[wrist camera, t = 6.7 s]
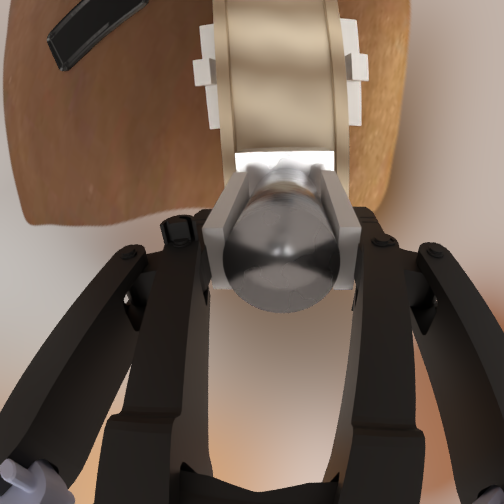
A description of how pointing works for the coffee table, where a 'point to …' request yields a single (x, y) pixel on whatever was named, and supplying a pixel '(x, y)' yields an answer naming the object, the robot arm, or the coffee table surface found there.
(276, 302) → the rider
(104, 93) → the coffee table surface
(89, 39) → the phone
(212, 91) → the stand
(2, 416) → the robot arm
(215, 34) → the beam
